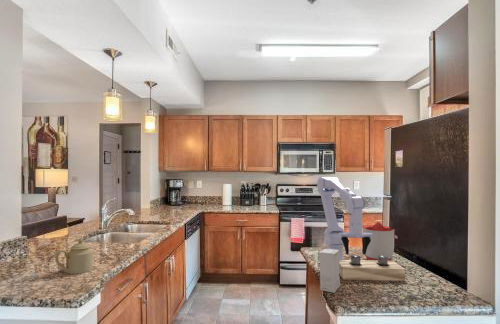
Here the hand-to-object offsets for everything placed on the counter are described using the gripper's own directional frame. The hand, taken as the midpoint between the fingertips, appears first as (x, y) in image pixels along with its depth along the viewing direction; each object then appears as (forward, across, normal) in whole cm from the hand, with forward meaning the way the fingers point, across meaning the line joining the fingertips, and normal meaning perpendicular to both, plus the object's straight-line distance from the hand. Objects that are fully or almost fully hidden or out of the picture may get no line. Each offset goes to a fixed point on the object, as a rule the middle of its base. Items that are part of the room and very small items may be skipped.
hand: (355, 254), depth 141 cm
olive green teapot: (+10, -126, 0) cm, 126 cm away
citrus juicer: (+10, +20, +24) cm, 33 cm away
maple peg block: (+9, +6, 0) cm, 11 cm away
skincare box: (+10, -15, -16) cm, 24 cm away
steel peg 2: (+6, +12, 0) cm, 13 cm away
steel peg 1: (+6, 0, 0) cm, 6 cm away
